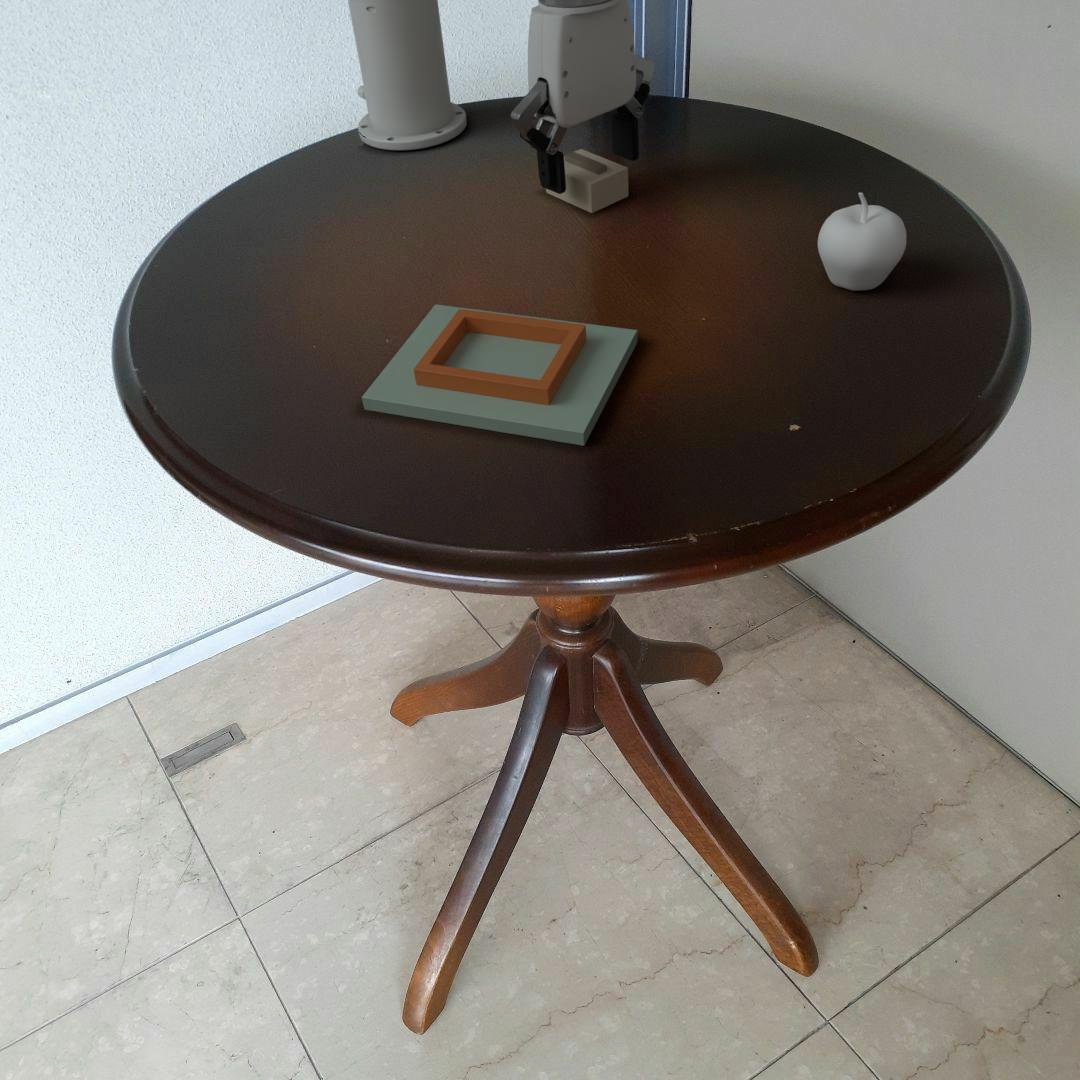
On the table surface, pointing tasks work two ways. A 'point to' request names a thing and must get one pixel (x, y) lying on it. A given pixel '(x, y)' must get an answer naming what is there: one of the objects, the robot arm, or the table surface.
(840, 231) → the plain white apple
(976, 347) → the table surface
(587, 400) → the board
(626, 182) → the block
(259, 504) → the table surface
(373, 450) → the table surface
